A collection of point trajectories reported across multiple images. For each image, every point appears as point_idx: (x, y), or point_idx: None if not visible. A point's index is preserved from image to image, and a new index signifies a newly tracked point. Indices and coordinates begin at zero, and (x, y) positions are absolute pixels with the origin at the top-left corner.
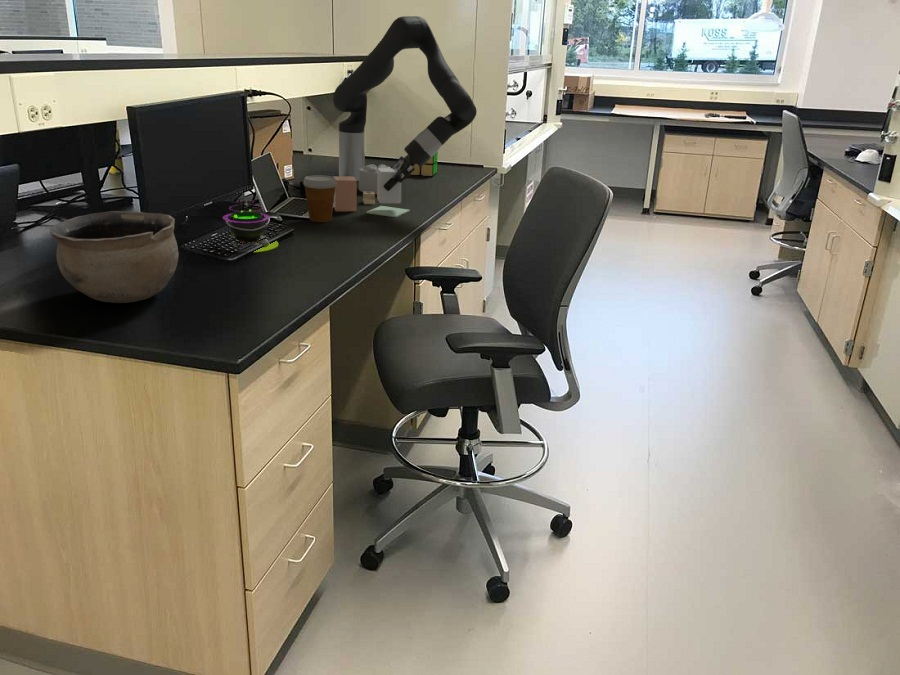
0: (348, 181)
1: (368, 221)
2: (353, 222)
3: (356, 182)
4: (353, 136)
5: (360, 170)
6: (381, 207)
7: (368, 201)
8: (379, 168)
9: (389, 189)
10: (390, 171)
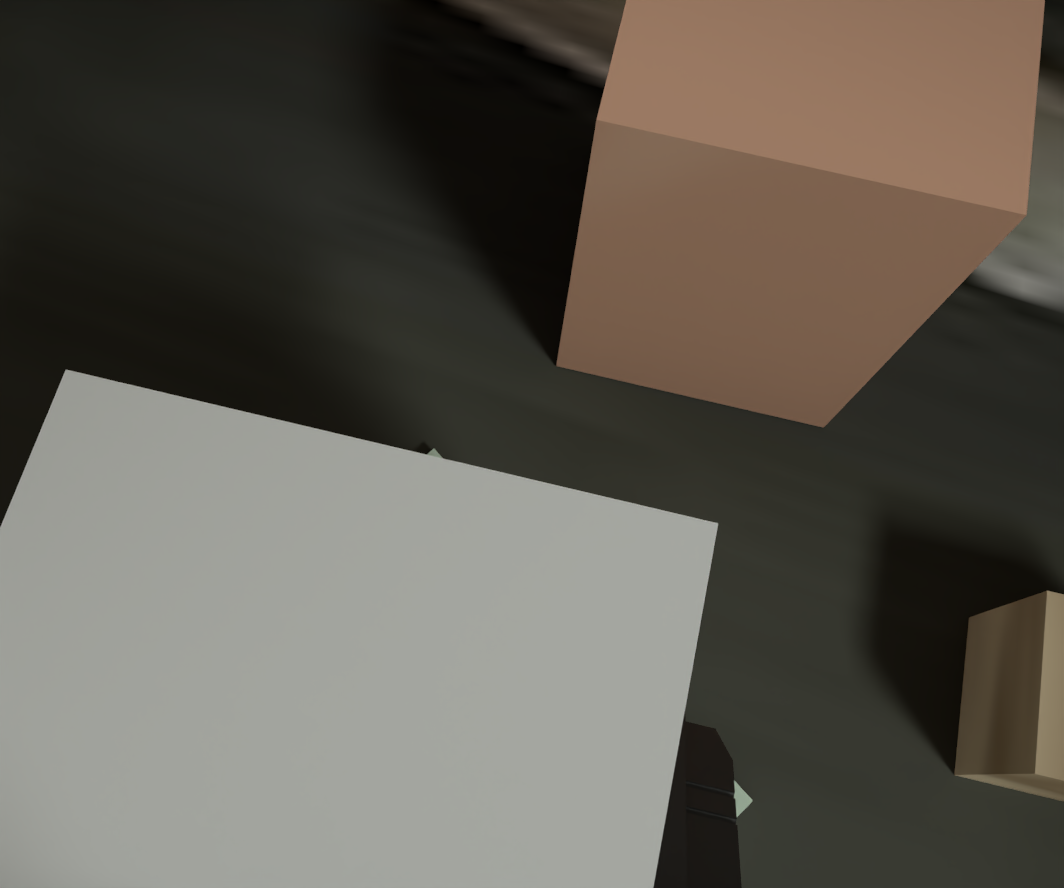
0: (627, 4)
1: (10, 324)
2: (36, 153)
3: (596, 142)
4: None
5: None
6: None
7: (981, 674)
8: (644, 558)
9: None
10: (17, 710)
